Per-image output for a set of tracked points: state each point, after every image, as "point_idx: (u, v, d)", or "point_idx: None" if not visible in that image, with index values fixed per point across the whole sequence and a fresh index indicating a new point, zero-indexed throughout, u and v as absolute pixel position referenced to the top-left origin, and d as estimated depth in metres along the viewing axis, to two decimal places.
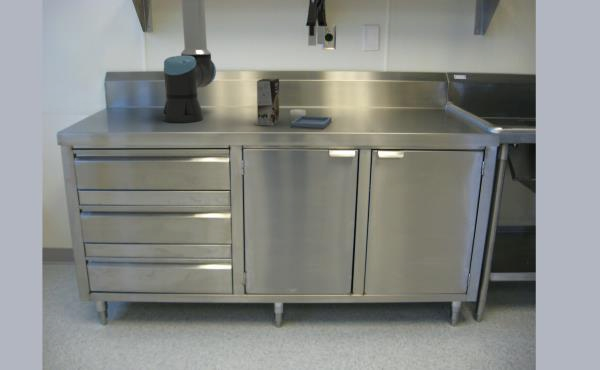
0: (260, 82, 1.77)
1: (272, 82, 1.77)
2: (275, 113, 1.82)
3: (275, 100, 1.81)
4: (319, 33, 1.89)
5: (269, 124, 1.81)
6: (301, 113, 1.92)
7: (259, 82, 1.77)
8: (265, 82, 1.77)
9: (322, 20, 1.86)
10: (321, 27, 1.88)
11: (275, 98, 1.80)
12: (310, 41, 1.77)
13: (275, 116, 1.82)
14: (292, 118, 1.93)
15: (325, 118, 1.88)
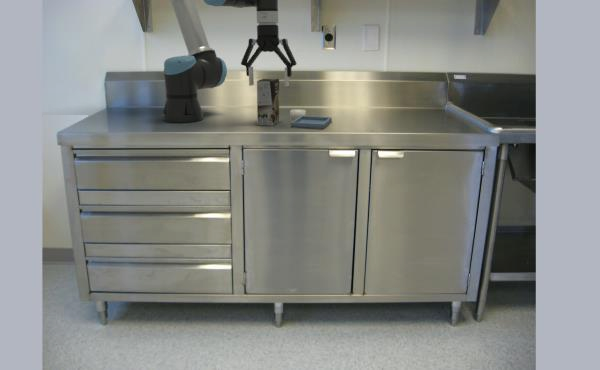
0: (260, 82, 1.77)
1: (272, 82, 1.77)
2: (275, 113, 1.82)
3: (275, 100, 1.81)
4: None
5: (269, 124, 1.81)
6: (301, 113, 1.92)
7: (259, 82, 1.77)
8: (265, 82, 1.77)
9: None
10: None
11: (275, 98, 1.80)
12: None
13: (275, 116, 1.83)
14: (292, 118, 1.93)
15: (325, 118, 1.88)
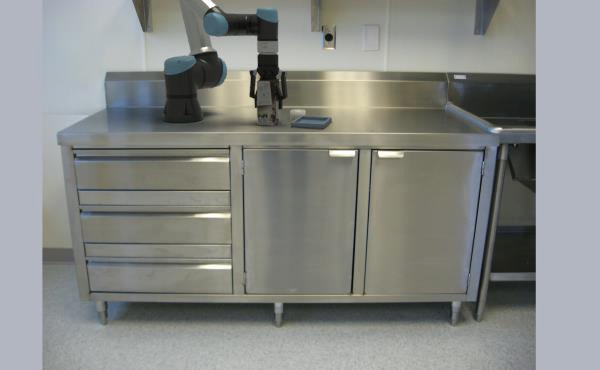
0: (260, 82, 1.77)
1: (272, 82, 1.77)
2: (275, 113, 1.82)
3: (275, 100, 1.81)
4: None
5: (269, 124, 1.81)
6: (301, 113, 1.92)
7: (259, 82, 1.77)
8: (265, 82, 1.77)
9: None
10: None
11: (275, 98, 1.80)
12: None
13: (275, 116, 1.82)
14: (292, 118, 1.93)
15: (325, 118, 1.88)
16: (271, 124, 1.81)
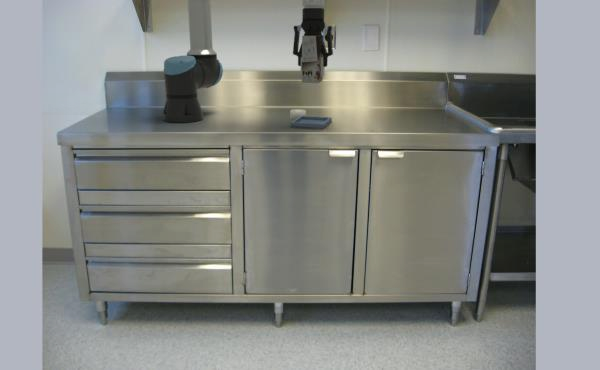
0: (305, 37, 1.70)
1: (318, 37, 1.70)
2: (320, 70, 1.75)
3: (321, 57, 1.74)
4: None
5: (314, 82, 1.74)
6: (301, 113, 1.92)
7: (304, 37, 1.71)
8: (311, 37, 1.70)
9: None
10: None
11: (320, 54, 1.74)
12: None
13: (320, 74, 1.76)
14: (292, 118, 1.93)
15: (325, 118, 1.88)
16: (316, 82, 1.74)
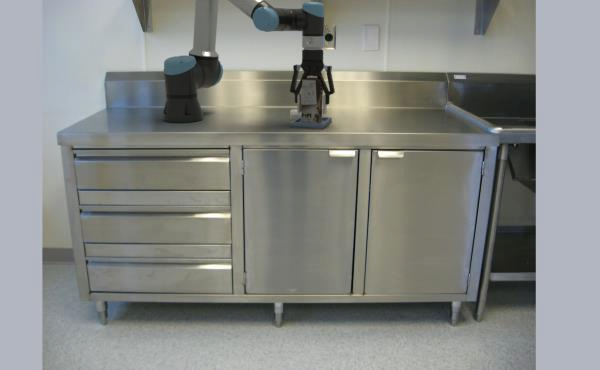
0: (305, 81, 1.75)
1: (318, 81, 1.74)
2: (319, 113, 1.80)
3: (320, 100, 1.79)
4: None
5: None
6: None
7: (304, 81, 1.75)
8: (311, 81, 1.75)
9: None
10: None
11: (320, 97, 1.78)
12: None
13: (319, 116, 1.80)
14: (292, 118, 1.93)
15: (325, 118, 1.88)
16: None
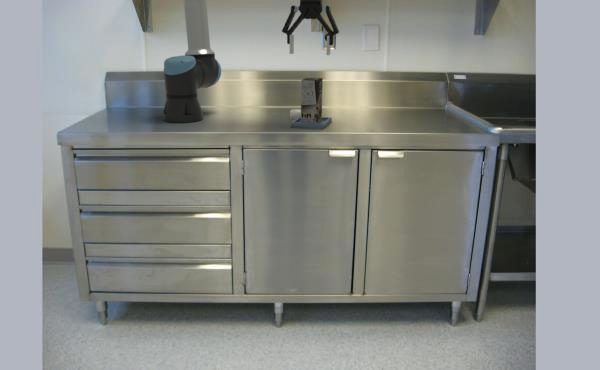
0: (304, 81, 1.75)
1: (317, 81, 1.74)
2: (319, 113, 1.80)
3: (319, 100, 1.79)
4: None
5: None
6: None
7: (303, 81, 1.75)
8: (310, 81, 1.75)
9: None
10: None
11: (319, 97, 1.78)
12: None
13: (318, 116, 1.80)
14: (292, 118, 1.93)
15: (325, 118, 1.88)
16: None
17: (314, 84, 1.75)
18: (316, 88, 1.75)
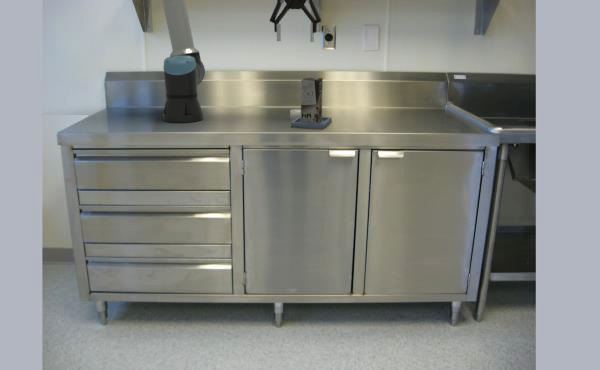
0: (304, 81, 1.75)
1: (317, 81, 1.74)
2: (319, 113, 1.80)
3: (319, 100, 1.79)
4: None
5: None
6: None
7: (303, 81, 1.75)
8: (310, 81, 1.75)
9: None
10: None
11: (319, 97, 1.78)
12: None
13: (318, 116, 1.80)
14: (292, 118, 1.93)
15: (325, 118, 1.88)
16: None
17: (314, 84, 1.75)
18: (316, 88, 1.75)
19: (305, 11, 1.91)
